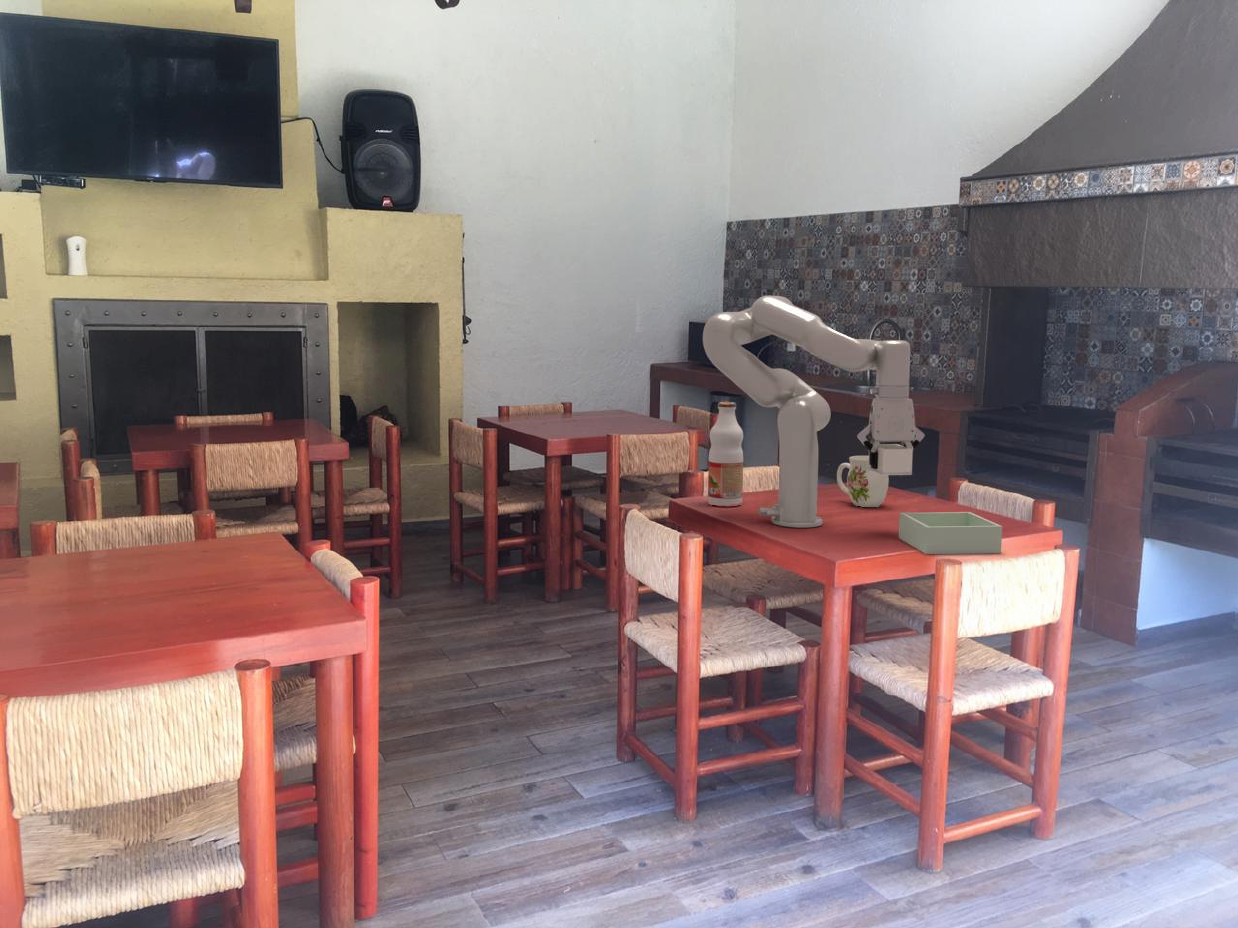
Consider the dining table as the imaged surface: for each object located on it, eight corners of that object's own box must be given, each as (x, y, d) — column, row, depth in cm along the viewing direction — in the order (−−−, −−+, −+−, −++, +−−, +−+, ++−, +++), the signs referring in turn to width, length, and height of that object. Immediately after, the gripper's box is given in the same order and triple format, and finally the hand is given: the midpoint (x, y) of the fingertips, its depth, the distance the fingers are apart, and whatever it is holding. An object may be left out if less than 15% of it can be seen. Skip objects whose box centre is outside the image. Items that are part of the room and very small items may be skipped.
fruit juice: (737, 508, 285) (739, 404, 281) (703, 506, 288) (705, 403, 285) (745, 503, 294) (748, 401, 290) (712, 500, 297) (714, 400, 293)
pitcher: (848, 498, 302) (850, 450, 300) (903, 507, 289) (905, 457, 287) (824, 503, 295) (826, 454, 293) (880, 512, 282) (882, 460, 280)
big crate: (925, 554, 233) (927, 527, 232) (898, 537, 249) (899, 512, 248) (1000, 553, 234) (1002, 526, 233) (968, 537, 251) (970, 512, 250)
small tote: (882, 475, 247) (883, 449, 247) (868, 469, 257) (869, 444, 257) (911, 474, 248) (912, 449, 247) (896, 468, 258) (897, 444, 257)
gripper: (861, 394, 246) (859, 470, 248) (934, 393, 247) (931, 469, 250) (851, 392, 253) (849, 466, 255) (921, 391, 255) (919, 465, 257)
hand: (889, 467), depth 253 cm, fingers closed on small tote, 7 cm apart
